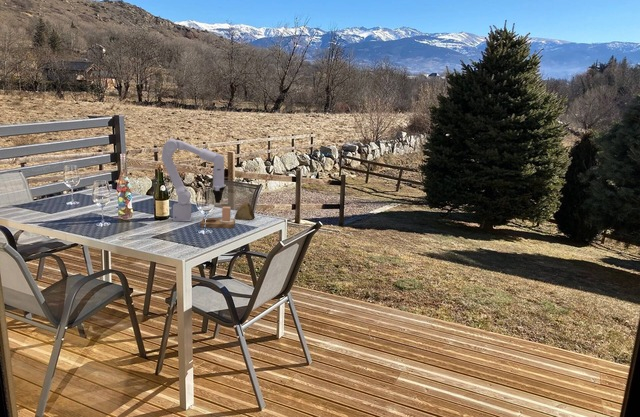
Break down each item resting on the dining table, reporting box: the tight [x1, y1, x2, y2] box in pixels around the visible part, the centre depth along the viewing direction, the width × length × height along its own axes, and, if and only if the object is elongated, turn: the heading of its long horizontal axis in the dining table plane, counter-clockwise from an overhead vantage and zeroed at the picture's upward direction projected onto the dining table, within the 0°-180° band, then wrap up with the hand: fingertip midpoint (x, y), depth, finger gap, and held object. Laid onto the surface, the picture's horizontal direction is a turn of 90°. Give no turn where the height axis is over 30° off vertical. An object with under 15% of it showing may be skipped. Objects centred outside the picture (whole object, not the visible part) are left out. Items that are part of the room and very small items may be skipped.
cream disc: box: [220, 218, 234, 223], centre depth 251 cm, size 7×7×1 cm
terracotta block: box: [221, 206, 232, 221], centre depth 251 cm, size 4×4×7 cm
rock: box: [234, 202, 256, 220], centre depth 267 cm, size 11×9×10 cm
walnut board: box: [199, 217, 236, 229], centre depth 251 cm, size 17×12×2 cm
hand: (218, 201), depth 260 cm, fingers open, 7 cm apart
